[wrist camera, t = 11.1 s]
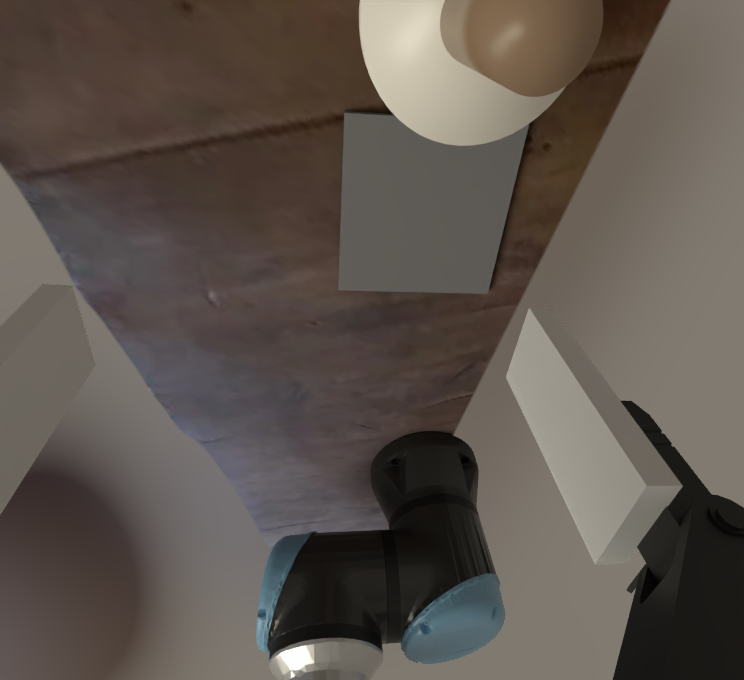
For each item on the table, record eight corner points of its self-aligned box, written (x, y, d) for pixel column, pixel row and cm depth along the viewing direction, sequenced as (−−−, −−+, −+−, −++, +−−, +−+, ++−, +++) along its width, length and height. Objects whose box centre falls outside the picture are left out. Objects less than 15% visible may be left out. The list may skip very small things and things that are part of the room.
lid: (552, 146, 29) (639, 207, 21) (353, 135, 28) (364, 195, 20) (628, -129, 22) (803, -196, 14) (366, -159, 21) (391, -254, 13)
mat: (485, 289, 52) (487, 293, 52) (338, 286, 51) (338, 290, 50) (526, 122, 42) (529, 124, 42) (344, 111, 41) (344, 112, 40)
